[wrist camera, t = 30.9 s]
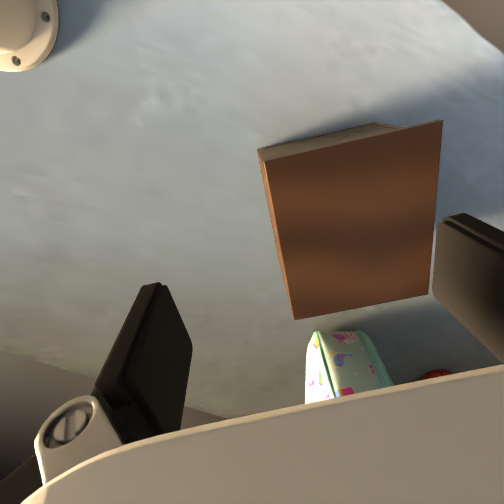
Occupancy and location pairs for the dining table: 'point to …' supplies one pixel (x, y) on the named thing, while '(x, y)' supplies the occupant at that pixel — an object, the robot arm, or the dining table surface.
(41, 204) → the dining table surface
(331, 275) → the lid
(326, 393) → the lunch box
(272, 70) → the dining table surface
